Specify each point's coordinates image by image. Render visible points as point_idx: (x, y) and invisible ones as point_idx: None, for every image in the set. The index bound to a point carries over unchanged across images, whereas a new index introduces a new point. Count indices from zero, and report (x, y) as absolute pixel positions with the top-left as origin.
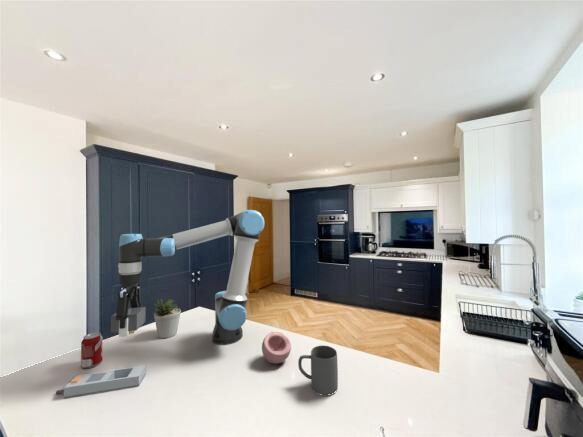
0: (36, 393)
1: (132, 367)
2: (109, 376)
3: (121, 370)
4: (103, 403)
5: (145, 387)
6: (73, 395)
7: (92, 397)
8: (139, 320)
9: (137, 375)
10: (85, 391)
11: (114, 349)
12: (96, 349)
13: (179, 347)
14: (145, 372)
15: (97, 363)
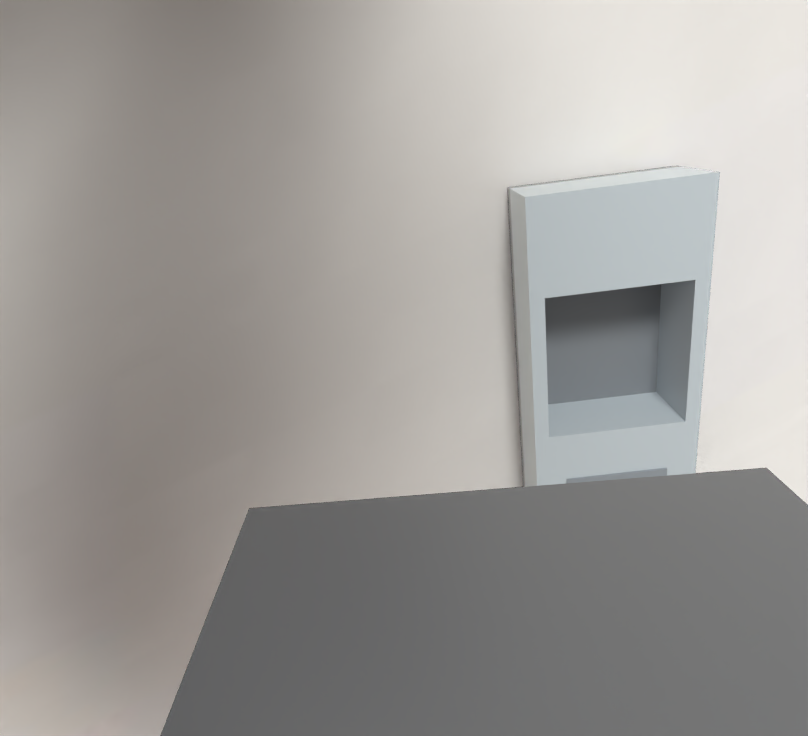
0: None
1: (538, 310)
2: (633, 429)
3: (544, 386)
4: (798, 329)
5: (711, 95)
6: None
7: (699, 433)
8: (694, 607)
9: (700, 192)
10: None
11: (86, 621)
12: None
13: (2, 20)
14: (517, 188)
15: None
